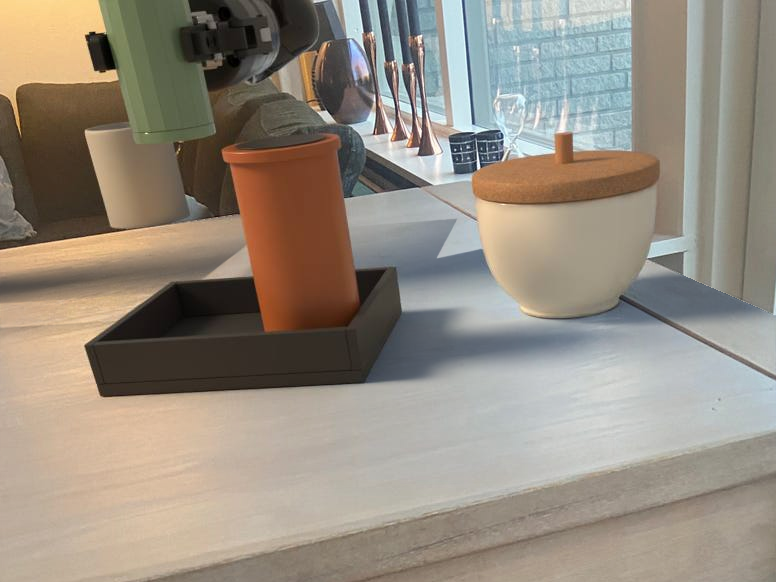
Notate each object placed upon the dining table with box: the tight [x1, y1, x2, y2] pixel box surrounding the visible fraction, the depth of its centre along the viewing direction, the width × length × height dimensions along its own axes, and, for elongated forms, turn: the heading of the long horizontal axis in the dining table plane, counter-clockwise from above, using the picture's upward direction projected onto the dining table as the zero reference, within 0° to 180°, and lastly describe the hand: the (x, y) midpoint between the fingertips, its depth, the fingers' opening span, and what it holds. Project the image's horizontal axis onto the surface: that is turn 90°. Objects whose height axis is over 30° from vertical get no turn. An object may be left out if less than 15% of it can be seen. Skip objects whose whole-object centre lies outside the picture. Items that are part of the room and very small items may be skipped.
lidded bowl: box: [471, 131, 661, 319], centre depth 66 cm, size 13×13×11 cm
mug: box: [84, 121, 191, 229], centre depth 103 cm, size 12×8×11 cm
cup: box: [97, 0, 217, 144], centre depth 71 cm, size 6×6×10 cm
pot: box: [221, 133, 361, 332], centre depth 60 cm, size 7×7×12 cm
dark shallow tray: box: [83, 266, 403, 397], centre depth 65 cm, size 17×15×3 cm
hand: (143, 49), depth 69 cm, fingers closed on cup, 6 cm apart
